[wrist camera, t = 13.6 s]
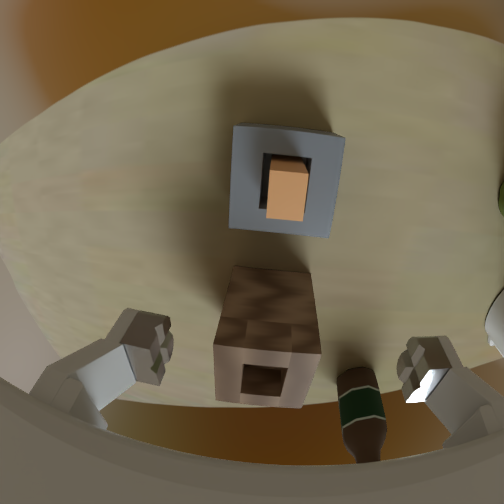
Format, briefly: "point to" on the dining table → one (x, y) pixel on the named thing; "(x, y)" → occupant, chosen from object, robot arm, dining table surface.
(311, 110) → the dining table surface
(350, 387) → the beer bottle
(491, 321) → the robot arm
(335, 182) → the low socket
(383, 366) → the dining table surface
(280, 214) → the peg
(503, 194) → the plant pot
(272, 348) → the wood block with hole
